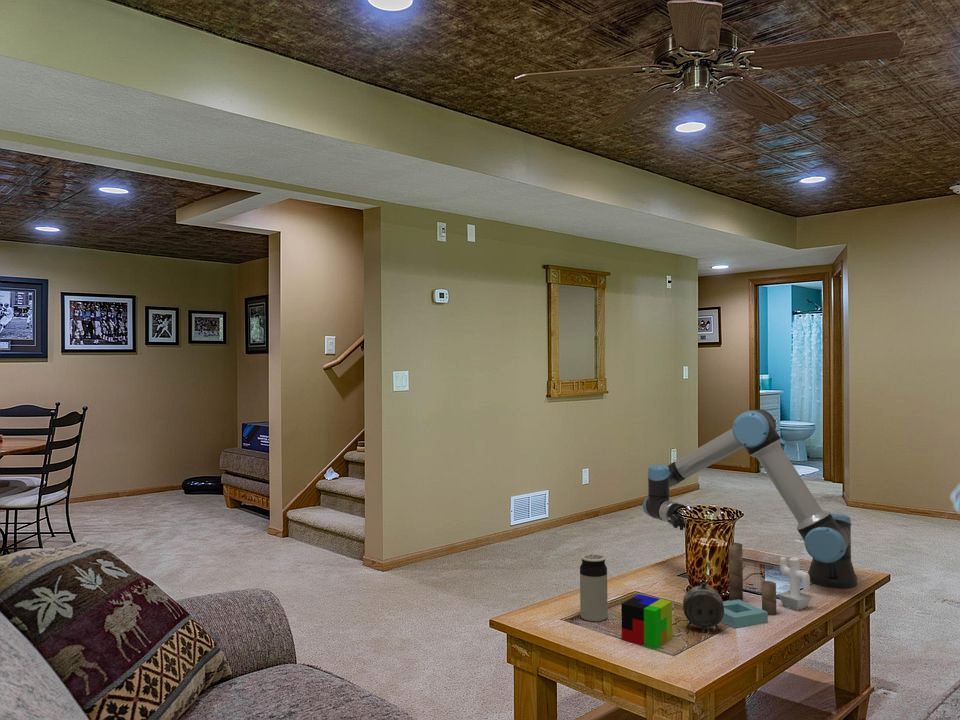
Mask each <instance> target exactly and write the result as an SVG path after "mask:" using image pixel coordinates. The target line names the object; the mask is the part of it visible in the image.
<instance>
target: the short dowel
mask: <svg viewBox="0 0 960 720" xmlns="http://www.w3.org/2000/svg"><path fill="white" fill-rule="evenodd" d="M761 609H762V610H764V611H767V612H768V616H776V615H777V583H776V582H775V581H771V580H764V581H761Z"/></svg>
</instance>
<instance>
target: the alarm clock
mask: <svg viewBox="0 0 960 720" xmlns="http://www.w3.org/2000/svg"><path fill="white" fill-rule="evenodd" d="M701 575H706V576H707V578H708V581H707V582H704V581H703V582H700V580H699V577H700V576H701ZM696 578H697V582H698V583H699V584H701V585H696V586H693V587H691V588H690V589H688V590H687V592H686V593H685V594H684V596H683V601H682V605H683V607H682V608H683V613H684V616H685V617H686V619H687V620H688V623H687V624H686V628H689V627H690V626H691V625H693V626H695V627H697V628H700V629H701V632H702V634H704V633H705V632H706V631H705V629H710V628H711V629H712V628H714V627H715V628H716V629H717V631H721V628H719V624H720V623H721V620H722V618H723V615H724V605H723V602H724V601H723V598H722V596H721V595H720V593H719V592H718V591H717V590H715V589H714V588H712V587H710V586H707V585H708V583H709V582H710V580H711V578H710V576H709V574H707V573H706V572H700V573H699V574H698V575H697V577H696Z"/></svg>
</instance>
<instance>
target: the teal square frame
mask: <svg viewBox="0 0 960 720" xmlns="http://www.w3.org/2000/svg"><path fill="white" fill-rule="evenodd" d="M723 605H724V615H723V618H722V620H721V621H720V623H723V624H725V625H726V626H729V627H731V628H733V629H738V628H744V627H750V626H756V625H760V624H767V623H769V615H768V612H767V611H764V610H762V608H759V607H757V606H755V605H753V604H750V603H748V602H745V601H744V600H743V601H741V600H732V601H729V600H727V601H723Z"/></svg>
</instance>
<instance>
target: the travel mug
mask: <svg viewBox="0 0 960 720" xmlns="http://www.w3.org/2000/svg"><path fill="white" fill-rule="evenodd" d="M580 559H581V564H580V567H579V601H580V606H579V607H580V610H579V611H580V614H579V615H580V616H579V617H580V618H581V619H583V620H585V621H589V622H595V623H596V622H602V621H605V620H606V619H608V606H609V605H608V566H607V565H606V559H607V557H606V555H603V554H600V553H584V554H582V555H580Z"/></svg>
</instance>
